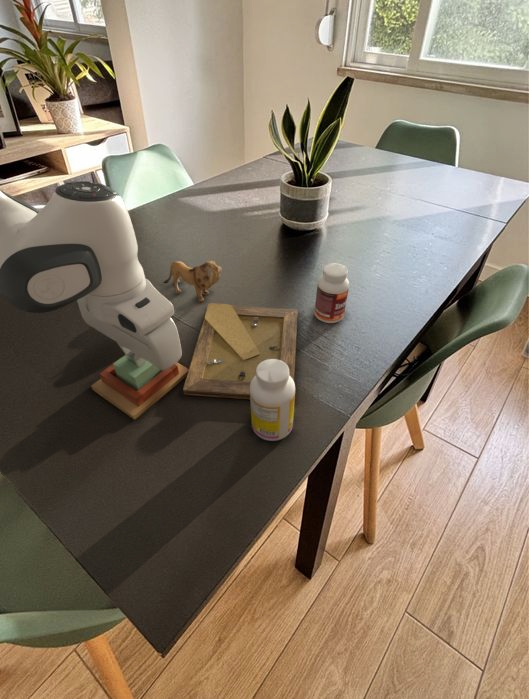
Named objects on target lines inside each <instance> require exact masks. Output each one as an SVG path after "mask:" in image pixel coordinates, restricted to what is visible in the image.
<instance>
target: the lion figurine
mask: <svg viewBox="0 0 529 699" xmlns="http://www.w3.org/2000/svg"><path fill="white" fill-rule="evenodd" d="M221 273H222V266H219V265H217V264H216V262H215V261H214V260H207V261H205V262H204V263H201V264H200V265H198V266H194V267H190V266H187V265H186V264H185V263H184V262H183V261H180V260H179V261H172V263H171V264H170V270H169V276H168V278H167V279H165V280H164V281H163V284H168V283H169V282H170V281H171V280H172V278H173V286H174V291H175V293H176V294H178V295H180V294H181V293H182V290H181V289H180V288H179V285H178V284H180V283H181V280H180V279H179V278H181V279H182V281H183V282H185V283H186V284H188V285H190V286H193V287H194V289H195V293H196V296H197V297H196V298H197V301H198V302H199V303H202V302H204V301H205V298H204V297H203V295H204V296H208V295H209V291H208V290H209V289H210V288H211V287H212V286H214V285H215V284H217V283H218V282H219V280H220V278H221Z"/></svg>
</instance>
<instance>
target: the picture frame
mask: <svg viewBox="0 0 529 699" xmlns="http://www.w3.org/2000/svg"><path fill="white" fill-rule="evenodd" d="M204 315H205V316H204V319H203V322H202V325H201V328H200V332H199V335H198V337H197V338H198V339H197V342H196V344H195V348H194V351H193V355H192V358H191V361H190V365H189V368H188V369H189V371H188V375H187V377H185V382H184V385H183V388H182V390H183V395H184V396H196V397H210V398H225V399H238V400H239V399H240V400H250V384H251V381H252V379H253V378H254V377H255V376H256V369H257V366H258V365H259V364H260V363H261V362H263V361H265V360H268V359H277V360H280V361H282V362H284V363H285V364H286V365H287V366H288V368H289V376H290V377H291V378H292V379H293V381H294V382H295V369H296V352H297V350H296V349H297V333H298V332H297V330H298V308H287V307H286V308H285V307H284V308H282V307H269V306H268V307H266V306H250V305H249V306H248V305H247V306H246V305H232V304H229V303H215V302H214V303H212V302H208V305H207V308H206V311H205V314H204Z"/></svg>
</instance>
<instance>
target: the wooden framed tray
mask: <svg viewBox="0 0 529 699" xmlns="http://www.w3.org/2000/svg"><path fill="white" fill-rule="evenodd" d="M188 371H189V368H188V367H186V366H184V365H182V364H180V363H179V361H178V362H177V363H175V364H174V365H173V366H172V367H170V368H169V369H167V370H165V371H163V370H162V372H161V373H160V374H158V375H157V376H156V377H155V378H153V379H152V380H151V381H150V382H148V383H147V384H146V385H144V386H143V387H142V388H141V389H139V390H138V391H136V390H134V389H133V388H131V387H130V386H128V385H127V384H125V383H124V382H122V381H121V380H119V379H118V377H117V374H116V371H115V368H114V365H113V363H112V364H110V365H109V366H108V367H107V368H105V369H103V371H101V372H99V377H100V378H99V379H98V380H97V381H95V382H94V383H92V384H91V385H90V387H91V389H92V391H94V392H95V393H97V394H98V395H99V396H101V397H102V398H103V399H104V400H106V401H108V402H109V403H110V404H112V405H113V406H115V407H116V408H117V409H119V410H120V411H121V412H123V413H124V414H126V415H127V416H128V417H130V418H132V419H133V420H136V419H138V418H139V417H140V416H141V415H142V414H144V413H145V412H146V411H147V410H149V408H151V407H152V406H153V405H155V404H156V403H157V402H158V401H159V400H160V399H162V398H163V397H164V396H165V395H167V394H168V393H169V392H170V391H171V390H173V388H175V387H176V386H177V385H178V384H179V383H181V382H182V381H183V380H185V379H186V378H187V375H188Z"/></svg>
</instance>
